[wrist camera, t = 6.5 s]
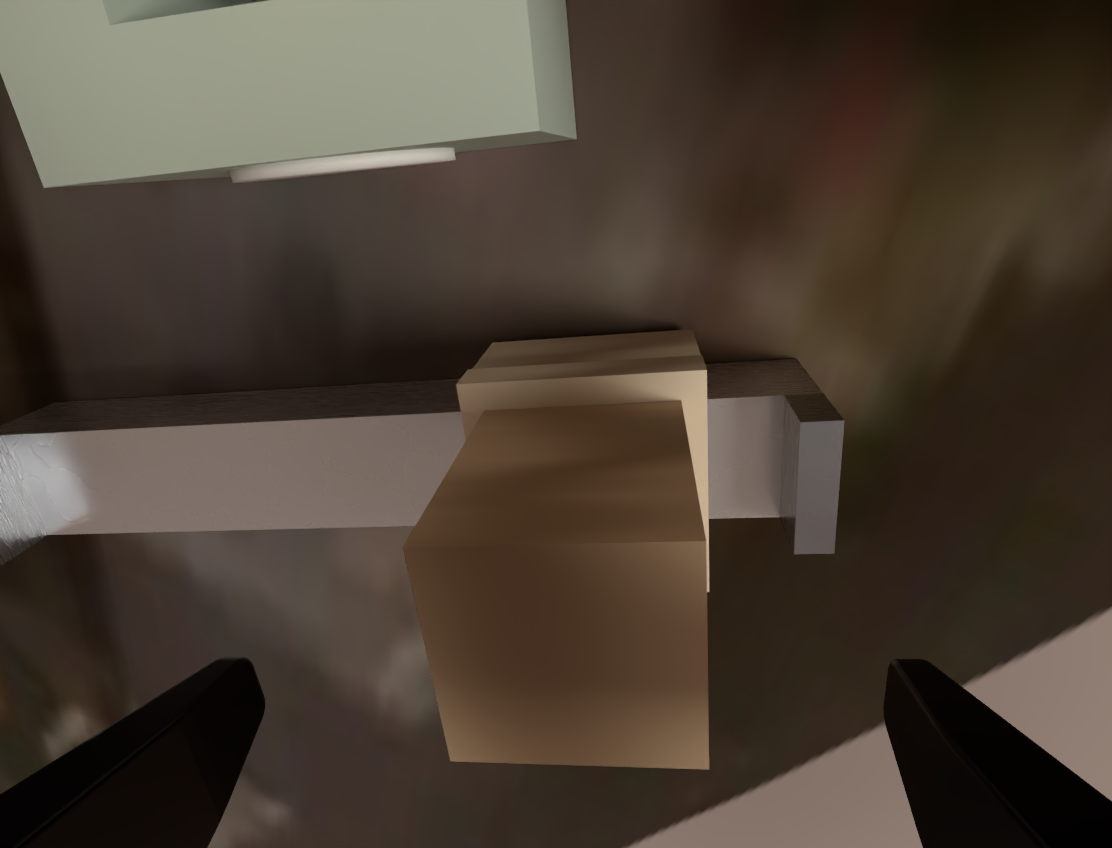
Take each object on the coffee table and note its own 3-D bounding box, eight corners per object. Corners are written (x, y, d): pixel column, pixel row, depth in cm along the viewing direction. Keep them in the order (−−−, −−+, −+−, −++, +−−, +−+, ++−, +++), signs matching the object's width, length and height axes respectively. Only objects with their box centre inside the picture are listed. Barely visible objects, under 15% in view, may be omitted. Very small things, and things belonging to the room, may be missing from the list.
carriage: (692, 325, 16) (747, 497, 8) (695, 511, 17) (743, 798, 10) (492, 338, 16) (357, 508, 8) (517, 516, 18) (426, 786, 10)
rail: (796, 358, 16) (844, 420, 12) (791, 466, 17) (834, 553, 13) (55, 402, 19) (-85, 462, 15) (92, 491, 20) (-29, 567, 16)
